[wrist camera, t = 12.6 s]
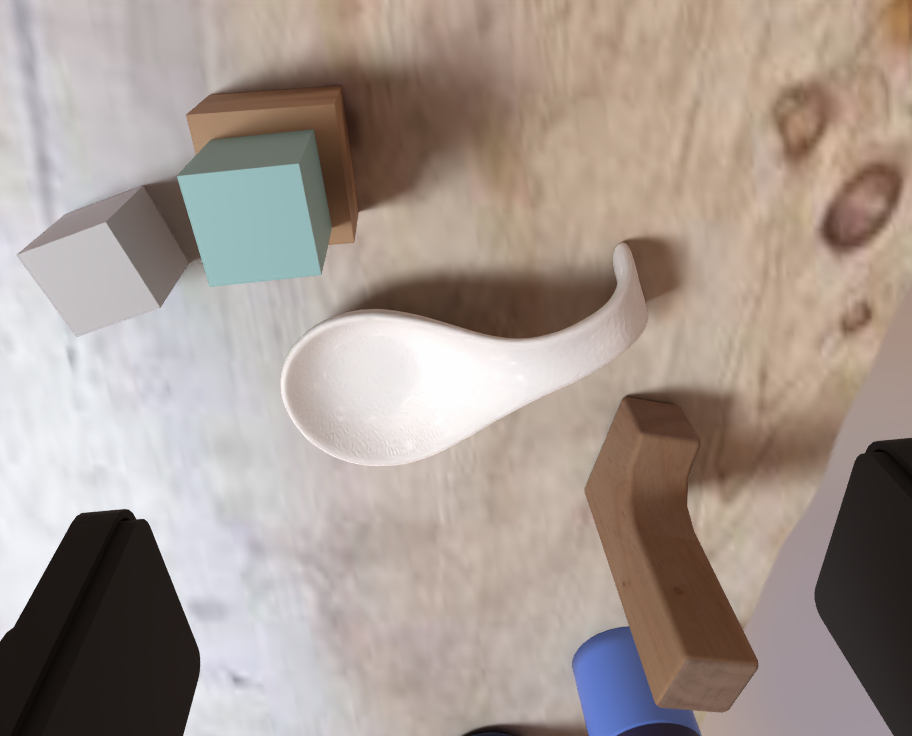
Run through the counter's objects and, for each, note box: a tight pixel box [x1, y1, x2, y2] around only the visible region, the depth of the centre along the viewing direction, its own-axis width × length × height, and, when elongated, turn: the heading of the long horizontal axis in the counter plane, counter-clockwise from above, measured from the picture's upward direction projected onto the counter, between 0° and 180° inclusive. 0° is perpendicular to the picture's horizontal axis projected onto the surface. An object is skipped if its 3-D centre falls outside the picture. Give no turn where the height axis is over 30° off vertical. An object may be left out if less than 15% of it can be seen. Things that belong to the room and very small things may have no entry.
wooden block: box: [585, 397, 758, 712], centre depth 44 cm, size 9×4×18 cm, turn 167°
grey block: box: [17, 185, 189, 337], centre depth 38 cm, size 5×5×6 cm
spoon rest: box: [280, 243, 648, 466], centre depth 43 cm, size 24×12×7 cm, turn 112°
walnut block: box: [186, 85, 359, 245], centre depth 37 cm, size 7×7×5 cm
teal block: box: [177, 129, 332, 287], centre depth 33 cm, size 5×5×6 cm
